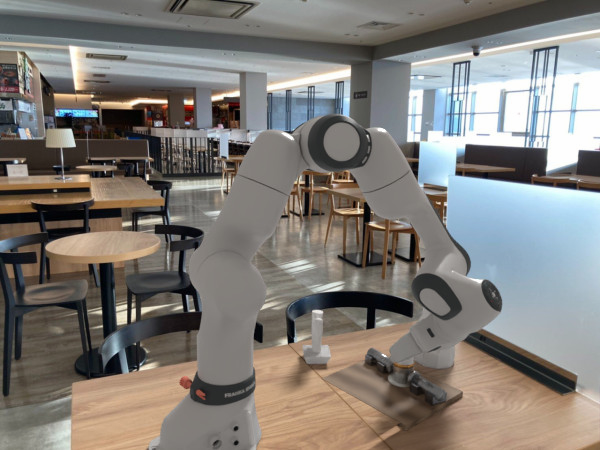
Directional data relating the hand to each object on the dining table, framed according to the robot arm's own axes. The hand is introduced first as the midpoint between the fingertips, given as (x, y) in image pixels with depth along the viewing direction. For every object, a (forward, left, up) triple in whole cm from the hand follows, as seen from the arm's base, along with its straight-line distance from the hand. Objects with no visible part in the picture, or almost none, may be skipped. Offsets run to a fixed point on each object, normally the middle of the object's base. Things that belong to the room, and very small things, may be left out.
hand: (404, 353), depth 119 cm
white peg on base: (-9, +22, -9) cm, 26 cm away
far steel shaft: (+1, +8, -7) cm, 11 cm away
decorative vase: (+18, +3, -9) cm, 20 cm away
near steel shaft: (-1, -8, -7) cm, 11 cm away
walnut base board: (-4, +1, -8) cm, 9 cm away
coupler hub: (0, 0, -7) cm, 7 cm away
